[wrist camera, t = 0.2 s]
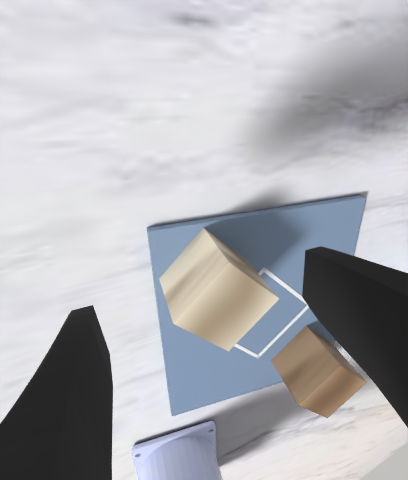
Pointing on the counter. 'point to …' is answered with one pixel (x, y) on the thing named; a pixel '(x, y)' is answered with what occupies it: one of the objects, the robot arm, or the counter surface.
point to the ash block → (215, 291)
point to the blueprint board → (277, 278)
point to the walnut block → (316, 373)
